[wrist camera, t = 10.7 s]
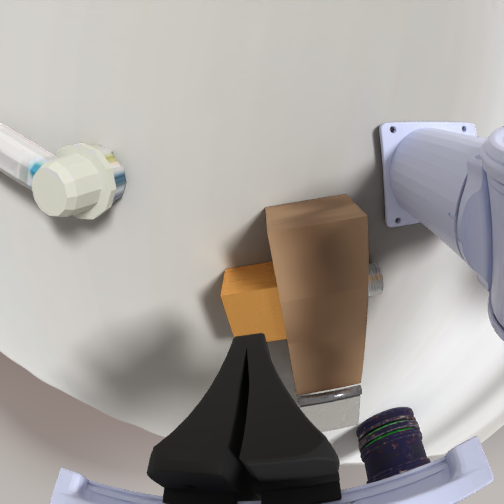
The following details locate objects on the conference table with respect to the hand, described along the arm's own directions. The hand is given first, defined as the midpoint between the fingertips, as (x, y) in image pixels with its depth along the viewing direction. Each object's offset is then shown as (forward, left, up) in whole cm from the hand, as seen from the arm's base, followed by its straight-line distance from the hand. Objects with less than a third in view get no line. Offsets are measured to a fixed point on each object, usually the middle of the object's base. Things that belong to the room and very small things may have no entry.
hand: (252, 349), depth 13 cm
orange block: (-3, +4, -10) cm, 12 cm away
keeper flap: (-4, +16, -5) cm, 17 cm away
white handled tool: (+18, -15, -11) cm, 26 cm away
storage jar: (-14, +34, -11) cm, 38 cm away
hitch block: (-4, +5, -10) cm, 12 cm away
